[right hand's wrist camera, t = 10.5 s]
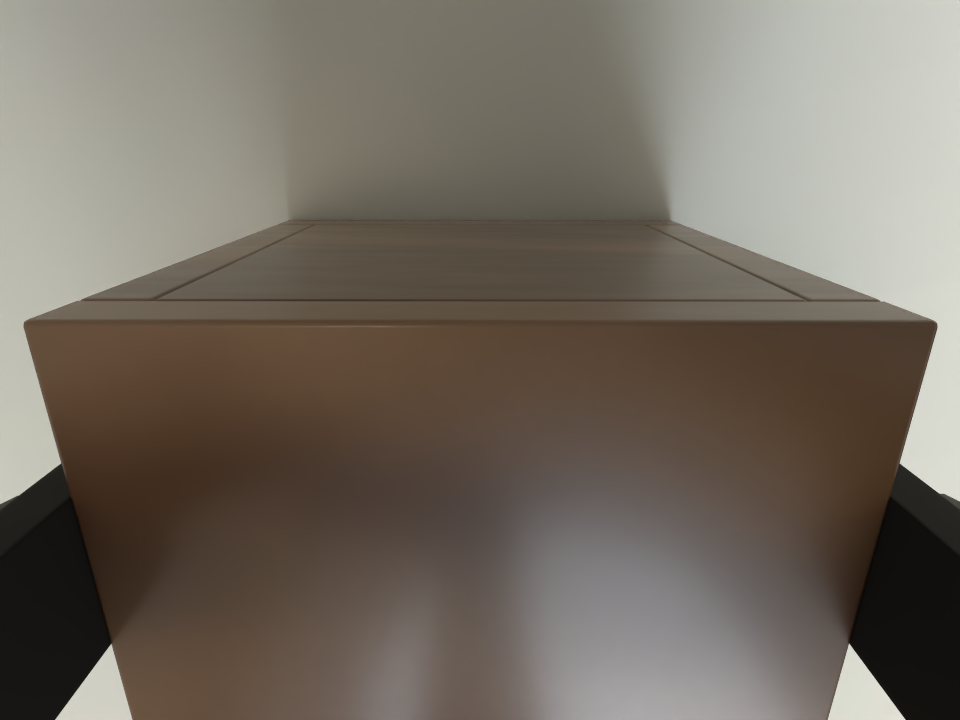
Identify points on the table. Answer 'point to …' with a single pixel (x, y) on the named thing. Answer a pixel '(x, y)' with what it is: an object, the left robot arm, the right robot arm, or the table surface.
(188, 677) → the cabinet
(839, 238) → the table surface
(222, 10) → the table surface
